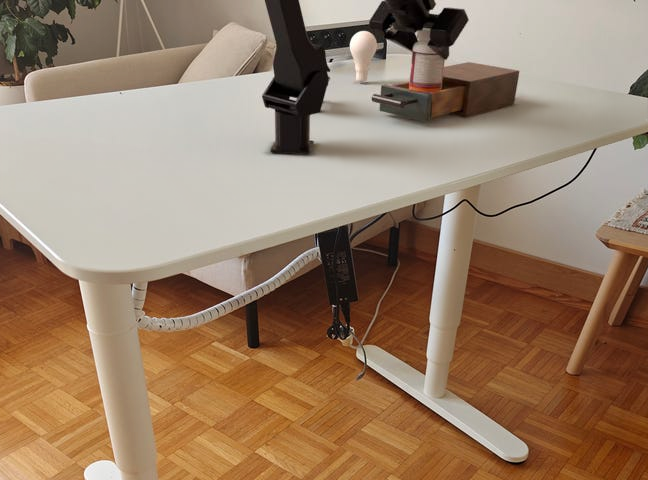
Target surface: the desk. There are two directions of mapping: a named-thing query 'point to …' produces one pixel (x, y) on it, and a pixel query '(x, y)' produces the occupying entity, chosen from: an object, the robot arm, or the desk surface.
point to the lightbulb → (362, 53)
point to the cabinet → (483, 86)
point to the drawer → (420, 100)
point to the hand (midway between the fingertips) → (433, 55)
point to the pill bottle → (425, 66)
